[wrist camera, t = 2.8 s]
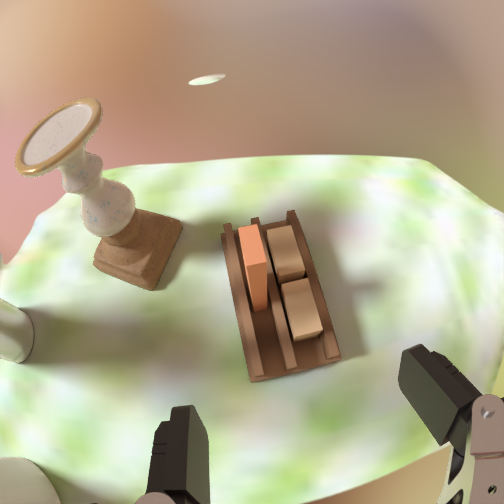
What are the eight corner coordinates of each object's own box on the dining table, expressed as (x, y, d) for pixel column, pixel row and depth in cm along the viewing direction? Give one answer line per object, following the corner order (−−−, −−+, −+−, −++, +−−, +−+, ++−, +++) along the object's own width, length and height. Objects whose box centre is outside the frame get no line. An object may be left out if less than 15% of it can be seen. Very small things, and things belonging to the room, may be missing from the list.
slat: (267, 309, 35) (266, 261, 23) (254, 312, 35) (246, 266, 22) (260, 283, 37) (256, 223, 24) (248, 285, 37) (237, 227, 24)
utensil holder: (41, 449, 27) (-43, 451, 11) (81, 529, 21) (12, 560, 5) (-2, 455, 25) (-72, 453, 9) (31, 526, 18) (-33, 541, 3)
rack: (338, 360, 33) (348, 356, 29) (251, 382, 33) (249, 381, 29) (297, 223, 42) (299, 205, 38) (222, 239, 41) (217, 222, 37)
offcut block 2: (316, 336, 33) (322, 329, 29) (291, 343, 33) (295, 336, 29) (303, 291, 36) (307, 277, 32) (279, 296, 36) (281, 284, 32)
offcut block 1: (301, 283, 36) (305, 269, 32) (278, 289, 36) (279, 275, 32) (288, 242, 39) (291, 225, 35) (267, 247, 39) (266, 229, 35)
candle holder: (127, 211, 45) (58, 97, 23) (184, 226, 43) (126, 91, 22) (96, 269, 40) (-4, 171, 19) (153, 292, 38) (50, 182, 17)
